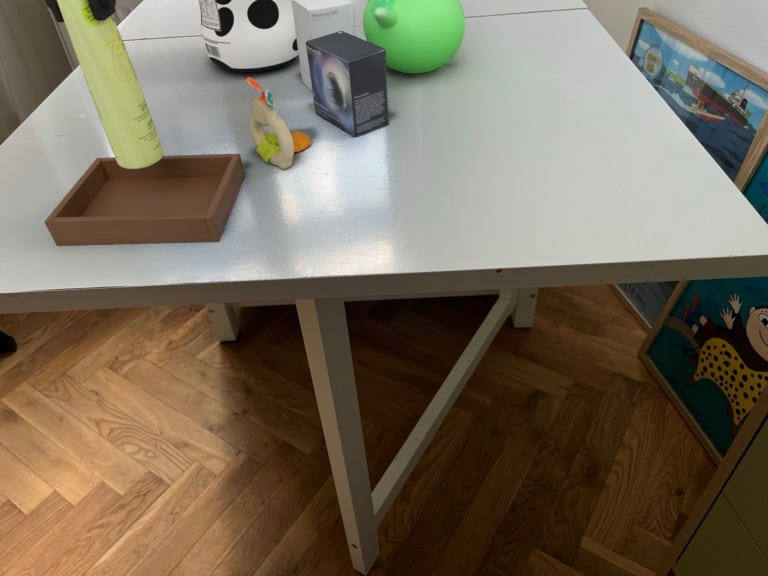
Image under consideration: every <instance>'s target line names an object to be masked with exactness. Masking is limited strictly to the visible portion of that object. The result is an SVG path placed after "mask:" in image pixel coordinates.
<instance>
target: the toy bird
mask: <svg viewBox="0 0 768 576" xmlns="http://www.w3.org/2000/svg"><path fill="white" fill-rule="evenodd" d="M362 16H363V17H362V20H363V21H362V26H363V33H364V37H365V41H368V42H370V43H373V44H375V45H377V46H380V47H382V48H385V49H386V67H388V68H389V69H390V70H391V69H392V70H394V71H397V72H400V73H405V74H423V73H428V72H432V71H434V70H436V69H439V68H441V67H442V66H444V65H445V64H447V63H448V62H449V61H450V60H452V58H454V56H455V55H456V54H457V53H458V51H459V50H460V48H461V45H462V43H463V41H464V38H465V37H464V36H465V31H466V18H465V13H464V10H463V6H462V4H461V1H460V0H367V1H366V4H365V6H364V11H363V15H362Z"/></svg>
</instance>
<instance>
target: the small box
mask: <svg viewBox="0 0 768 576" xmlns="http://www.w3.org/2000/svg"><path fill="white" fill-rule="evenodd" d="M305 43H306V48H307V56H308V63H309V70H310V77H311V84H312V91H313V92H312V91H311V92H312V98H313V105H314V113H315V114H316V115H318V116H319V117H321V118H323V119H324V120H326V121H327V122H329V123H331V124H332V125H334V126H336V127H337V128H339V129H341V130H342V131H344V132H345V133H347V134H349V135H350V136H352V137H353V138H357V137H359V136H363V135H366V134H367V133H370V132H374V131H376V130H379V129H381V128H384V127H386V126H389V125H390V117H389V116H390V115H389V102H388V99H389V98H388V81H387V80H388V79H387V66H386V49H385V48H382V47H380V46H377V45H375V44H373V43H370V42H368V41H367V40H366V39H363V38H361V37H358V36H353V35H351V34H348V33H346V32H344V31H338V32H335V33H332V34H329V35H325V36H322V37H319V38H316V39H312V40H309V41H306V42H305Z"/></svg>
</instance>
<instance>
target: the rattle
mask: <svg viewBox="0 0 768 576" xmlns="http://www.w3.org/2000/svg"><path fill="white" fill-rule="evenodd" d="M246 81H247V83H248V85H250V86H251V87H252V88H253V89H255V90H258V91H260V92H261V95H259V96H257V97H255V98H254V99H253V100H252V102H251V112H252V113H251V115H250V117H249V120H248V121H249V122H248V129H249V133H250V138H251V139H252V142H253V143H254V144H253V145H255V147H256V150H255V152H256V153H257V154H258V155H259V156H260V157H261V159H262V160H263V161H264V162H266V163H267V164H268V165H270V164H271V165H273V166H276V167H278V168H280V169H282V170H287V169H288V168H290V167H291V166H292V165H293V158H294V156H295V153H299V152H301V151H304V150H306V149H308V148H309V147H310V146H311V145H312V138H311V136H310V135H308V134H307V133H304V132H302V131H300V130H296V131H292V132H290V129H289V127H288V126H287V123H286V122H285V121H284V120H283V119H282V118H281V116H280V115H279V114H278V112H277V110H276V108H275V106H274V100H273V96H272V95H273V94H272V91H271V90H270V89H269V88H267V89H266V92H265V91H264V90H263V88H262V86H261V85H260V84H259V83H258V82H257V81H256V80H255V79H253V78H252V77H250V76H249V77H247V78H246ZM264 126H265V127H269V128H270V129H271V130H272V131H273V132H270V131H268V130H267V131H266V132H265V131H264Z"/></svg>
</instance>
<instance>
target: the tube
mask: <svg viewBox="0 0 768 576" xmlns="http://www.w3.org/2000/svg"><path fill="white" fill-rule="evenodd" d="M57 2H58V5H59V8H60V10H61V13H62V16H63V19H64V22H63V23H64V25H65V27H66V30H67V33H68V36H69V39H70V42H71V45H72V47H73V51H74V54H75V56H76V58H77V61H78V64H79V66H80V69H81V71H82V75H83V77H84V80H85V83H86V85H87V89H88V91H89V94H90V96H91V99H92V101H93V104H94V107H95V109H96V112H97V115H98V117H99V120H100V122H101V124H102V125H101V126H102V128H103V131H104V133H105V136H106V138H107V140H108V141H107V142H108V143H109V146H110V148H111V151H112V153H113V157H115V158H116V161H117V163H118V165H119V166H121V167H123V168H127V169H139V168H145V167H148V166H151V165H153V164H155V163H156V162H158V161H159V160H160V159H161V158H162V157H163V156H165V152H164V147H163V145H162V142H161V138H160V136H159V134H158V130H157V128H156V125H155V122H154V120H153V117H152V113H151V111H150V109H149V106H148V103H147V101H146V100H147V99H146V98H145V95H144V92H143V91H142V90H143V89H142V87H141V84H140V82H139V79H138V76H137V74H136V71H135V69H134V66H133V63H132V61H131V58H130V55H129V53H128V51H127V49H126V45H125V43H124V40H123V38H122V36H121V33H120V31H119V28H118V25H117V23H116V21H115V19H114V17H113V14H112V15H111V16H110V17H108V18H107V19H106V20H104V21H98V20H97V19H95V17H94V16H93V13H92V11H91V8H90V5H89V2H88V0H57Z"/></svg>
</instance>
